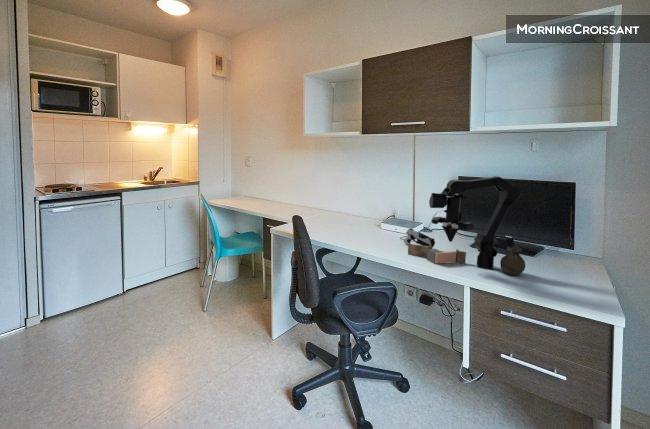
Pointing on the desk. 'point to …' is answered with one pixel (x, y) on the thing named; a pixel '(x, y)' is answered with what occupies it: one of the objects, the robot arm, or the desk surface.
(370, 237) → the desk surface
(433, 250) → the block
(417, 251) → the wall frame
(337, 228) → the desk surface
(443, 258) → the door
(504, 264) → the drawstring pouch
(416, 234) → the toy gun
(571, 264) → the desk surface
